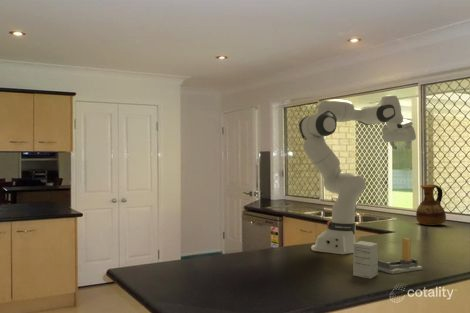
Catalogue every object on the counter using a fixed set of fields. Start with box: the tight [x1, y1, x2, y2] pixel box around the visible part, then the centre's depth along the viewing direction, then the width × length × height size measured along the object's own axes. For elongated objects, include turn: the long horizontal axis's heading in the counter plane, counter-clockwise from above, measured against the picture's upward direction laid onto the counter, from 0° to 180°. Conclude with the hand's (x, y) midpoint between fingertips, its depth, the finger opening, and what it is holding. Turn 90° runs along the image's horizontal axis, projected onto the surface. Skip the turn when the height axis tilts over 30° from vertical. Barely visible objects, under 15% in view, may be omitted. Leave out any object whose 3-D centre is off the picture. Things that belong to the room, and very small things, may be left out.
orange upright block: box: [399, 237, 412, 264], centre depth 182 cm, size 4×3×11 cm
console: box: [378, 257, 424, 275], centre depth 179 cm, size 18×10×4 cm, turn 118°
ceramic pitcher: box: [415, 184, 447, 226], centre depth 316 cm, size 20×20×30 cm
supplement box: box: [352, 240, 379, 279], centre depth 168 cm, size 7×7×13 cm
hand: (401, 149), depth 229 cm, fingers open, 8 cm apart
